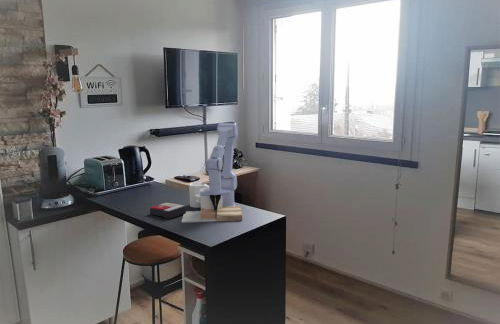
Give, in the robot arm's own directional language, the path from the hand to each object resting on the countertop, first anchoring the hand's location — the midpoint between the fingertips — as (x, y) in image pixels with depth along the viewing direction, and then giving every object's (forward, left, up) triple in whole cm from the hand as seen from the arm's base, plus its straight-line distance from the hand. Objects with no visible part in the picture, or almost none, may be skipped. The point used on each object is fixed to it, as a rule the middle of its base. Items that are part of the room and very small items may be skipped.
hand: (215, 209), depth 195 cm
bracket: (-13, -6, -4) cm, 15 cm away
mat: (0, -8, -3) cm, 8 cm away
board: (0, +6, -3) cm, 7 cm away
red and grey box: (-6, -24, -3) cm, 25 cm away
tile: (0, -4, -3) cm, 5 cm away
